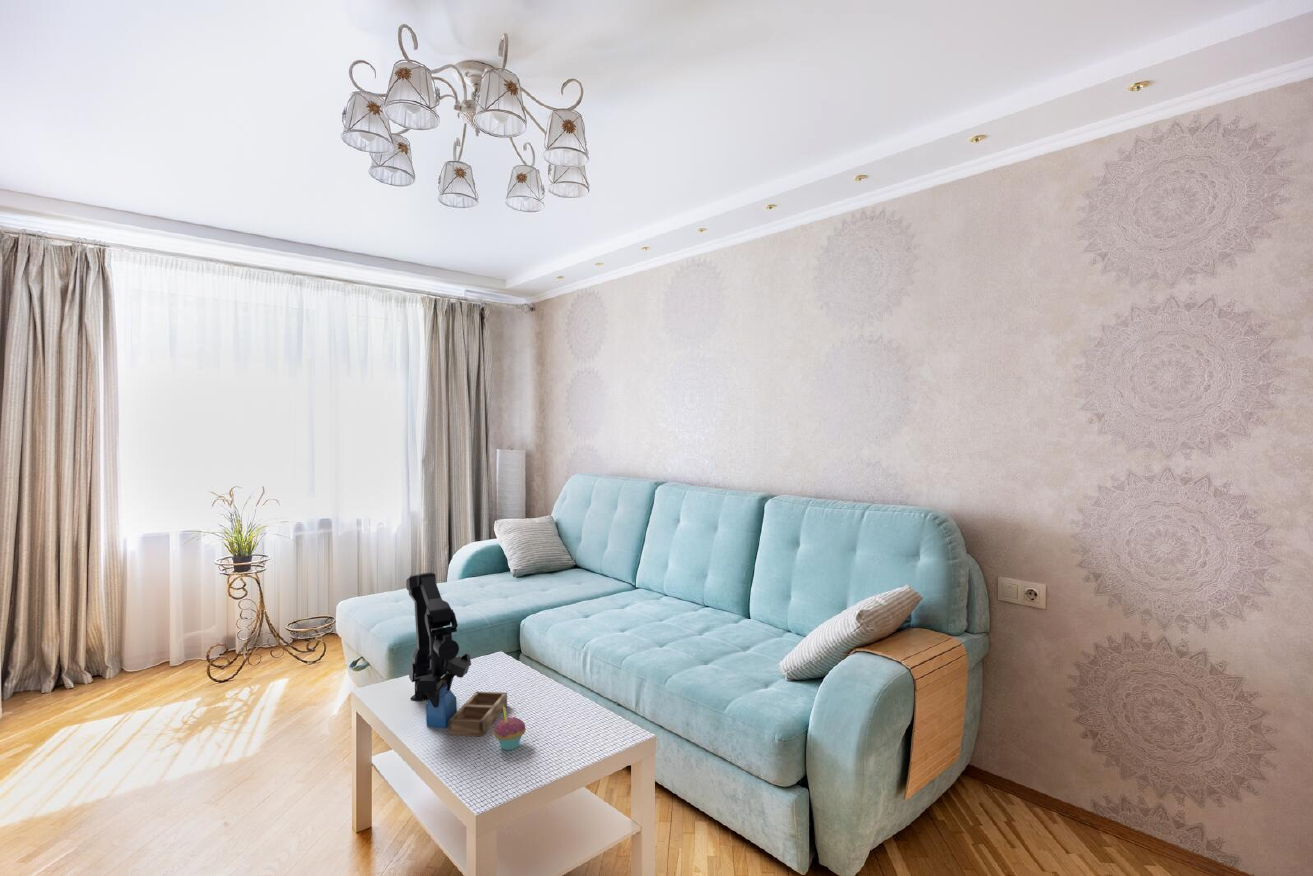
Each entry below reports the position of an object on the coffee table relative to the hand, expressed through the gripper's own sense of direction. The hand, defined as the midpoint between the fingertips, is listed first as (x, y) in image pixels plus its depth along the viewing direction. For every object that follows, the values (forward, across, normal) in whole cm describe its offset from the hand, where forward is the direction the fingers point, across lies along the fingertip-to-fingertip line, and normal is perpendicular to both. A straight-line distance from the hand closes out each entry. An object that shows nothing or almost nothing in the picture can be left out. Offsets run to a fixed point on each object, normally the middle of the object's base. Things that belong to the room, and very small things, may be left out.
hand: (441, 702), depth 181 cm
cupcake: (+6, -11, -25) cm, 28 cm away
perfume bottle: (+6, 0, 0) cm, 6 cm away
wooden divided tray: (+6, +3, -10) cm, 12 cm away
